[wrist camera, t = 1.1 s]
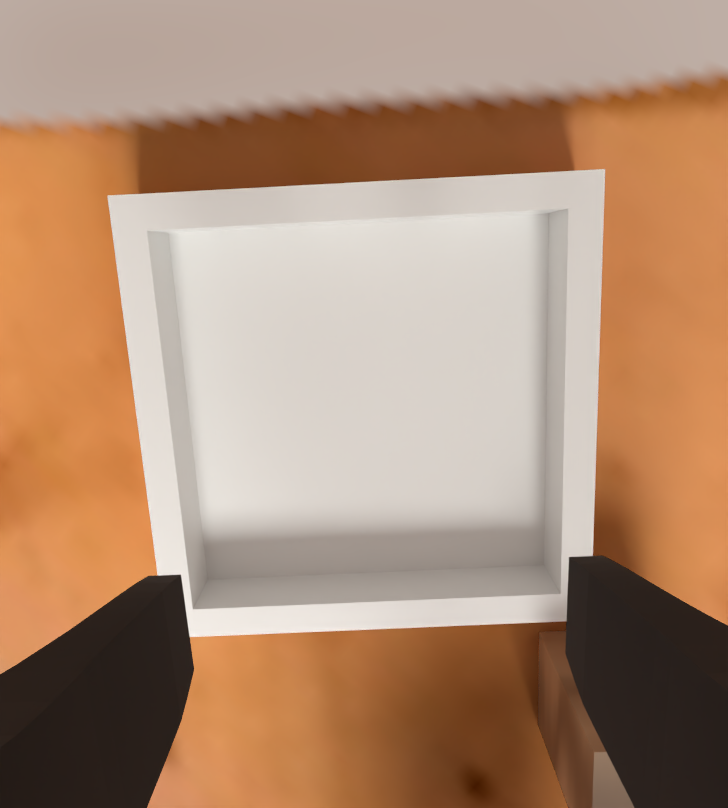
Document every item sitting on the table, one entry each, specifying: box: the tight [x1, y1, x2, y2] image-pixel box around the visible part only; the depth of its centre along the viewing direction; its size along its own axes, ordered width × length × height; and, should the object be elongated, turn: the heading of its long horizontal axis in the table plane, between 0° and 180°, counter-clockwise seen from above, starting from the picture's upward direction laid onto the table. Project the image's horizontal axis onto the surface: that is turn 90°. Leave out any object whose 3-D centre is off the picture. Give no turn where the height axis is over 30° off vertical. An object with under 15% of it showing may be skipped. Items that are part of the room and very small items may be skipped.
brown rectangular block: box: [538, 631, 634, 808], centre depth 21 cm, size 4×4×6 cm
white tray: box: [108, 169, 605, 637], centre depth 21 cm, size 14×14×2 cm
